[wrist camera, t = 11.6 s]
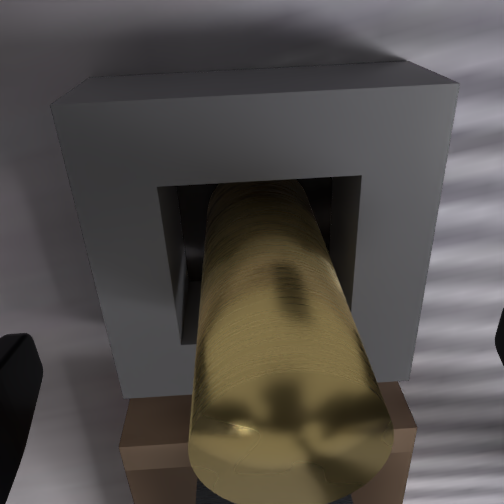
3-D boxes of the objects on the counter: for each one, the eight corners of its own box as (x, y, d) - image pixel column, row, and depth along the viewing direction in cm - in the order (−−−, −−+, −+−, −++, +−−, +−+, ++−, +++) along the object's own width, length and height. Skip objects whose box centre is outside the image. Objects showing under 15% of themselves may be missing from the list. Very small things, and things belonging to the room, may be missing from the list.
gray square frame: (408, 61, 12) (459, 83, 9) (379, 315, 16) (409, 380, 13) (89, 77, 12) (49, 104, 9) (140, 329, 16) (123, 398, 13)
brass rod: (310, 163, 13) (406, 366, 6) (308, 255, 15) (383, 504, 8) (203, 168, 13) (176, 381, 6) (211, 261, 15) (198, 517, 8)
